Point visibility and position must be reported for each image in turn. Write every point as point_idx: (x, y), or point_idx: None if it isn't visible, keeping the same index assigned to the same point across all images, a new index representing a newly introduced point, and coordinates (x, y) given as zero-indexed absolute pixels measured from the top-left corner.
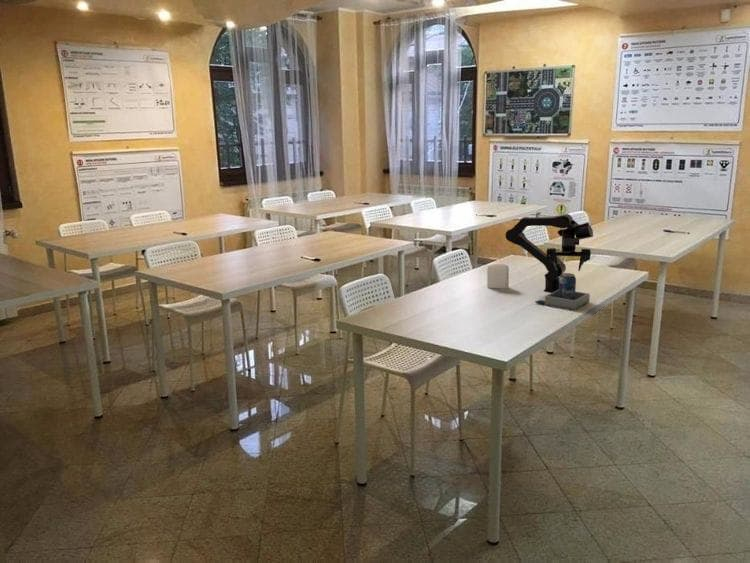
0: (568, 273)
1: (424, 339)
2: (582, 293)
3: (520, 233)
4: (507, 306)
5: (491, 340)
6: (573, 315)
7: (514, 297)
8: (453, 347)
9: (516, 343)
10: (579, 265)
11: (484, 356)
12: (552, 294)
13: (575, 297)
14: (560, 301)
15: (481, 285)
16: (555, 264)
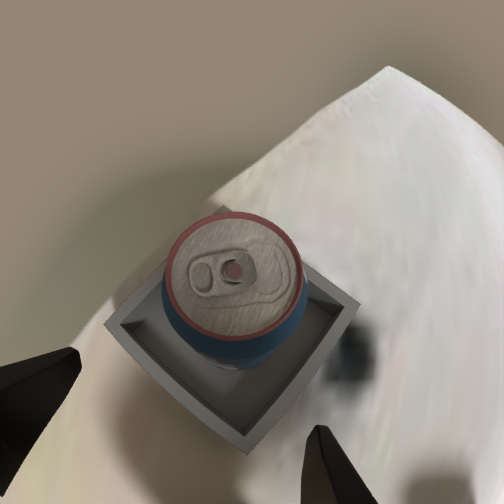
0: (206, 331)
1: (496, 141)
2: (134, 341)
3: None
4: (463, 301)
5: (427, 107)
6: (254, 180)
7: (440, 428)
8: (457, 109)
9: (390, 88)
10: (36, 367)
11: (415, 79)
12: (314, 350)
13: (170, 372)
14: None
15: None
16: (356, 473)
